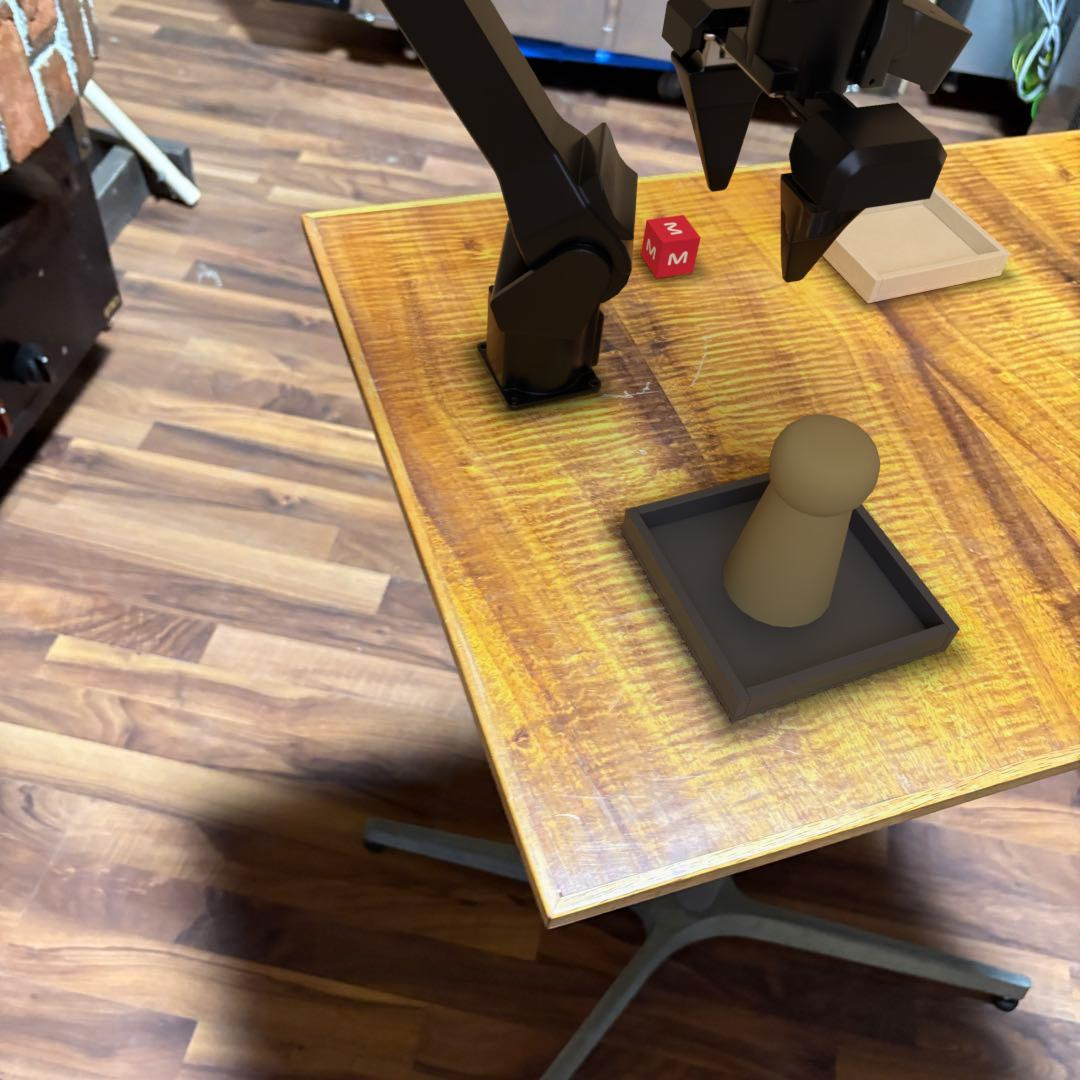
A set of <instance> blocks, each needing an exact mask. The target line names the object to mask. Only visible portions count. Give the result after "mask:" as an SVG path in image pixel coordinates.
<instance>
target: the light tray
mask: <svg viewBox="0 0 1080 1080" xmlns="http://www.w3.org/2000/svg"><path fill="white" fill-rule="evenodd" d="M1011 255H1012V253H1011V252H1010V251H1009V250H1008V249H1007V248H1006V247H1005V246H1004V245H1002V244H1001V243H1000V242H999V241H998V240H997V239H995V238H994V237H993V236H992V235H991V234H990V233H989V232H987V231H986V230H985V229H984V228H983V227H982V226H981V225H980V224H979V223H977V222H976V221H975V220H974V218H973V219H972V217H970V215H968V214H967V213H966V212H965V211H964V210H962V209H961V208H960V207H959V206H958V205H957V204H955V203H954V202H953V201H952V199H950V198H949V197H948V196H947V195H946V194H944V193H943V192H942V191H941V190H940V189H938V187H937V186H935V187H934V190H933V192H932V195H931V197H930V199H926V200H919V201H912V202H905V203H899V204H892V205H885V206H879V207H872V208H866V209H865V210H863V211H862V212H861V213H860V214H859V215H858V216H857V217H856V218H855V219H854V220H853V221H852V222H851V223H850V224H849V225H848V226H847V227H846V228H845V229H844V230H843V231H842V232H841V234H840V235H839V236H838V237H837V238H836V240H835V241H834V242H833V243H832V245H831V246H830V247H829V248H828V249H827V251H826V252H825V253H824V254H823V255H822V257H823V258H824V259H825V260H826V261H827V262H828V263H829V264H830V265H831V266H832V267H833V268H834V270H836V272H837V273H838V274H839V275H840V276H841V277H842V278H843V279H844V280H845V281H846V283H848V285H850V286H851V288H852V289H853V290H854V291H855V292H856V293H857V294H858V296H860V297H861V298H862V299H863V300H864V301H865V303H867V304H872V303H876V302H881V301H886V300H891V299H896V298H900V297H905V296H909V295H915V294H920V293H924V292H928V291H929V292H930V291H933V290H938V289H944V288H948V287H952V286H953V287H954V286H957V285H961V284H968V283H971V282H976V281H981V280H985V279H991V278H996V277H1000V276H1002V274H1003V271H1004V269H1005V267H1006V266H1007V263H1008V261H1009V259H1010V257H1011Z"/></svg>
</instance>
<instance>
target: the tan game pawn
mask: <svg viewBox="0 0 1080 1080" xmlns="http://www.w3.org/2000/svg"><path fill="white" fill-rule="evenodd" d="M881 463H882V462H881V459H880V453H879V450H878V447H877V445H876V443H875V442H874V440H873V439H872V436H871V435H870V434H869V433H868V432H867V431H865V430H864V428H862V427H861V426H860V425H858V424H856V423H855V422H853V421H851V420H848V419H846V418H844V417H840V416H836V415H834V414H826V413H825V414H823V413H816V414H815V413H814V414H808V415H804V416H802V417H800V418H797V419H795V420H793V421H791V422H790V423H788V424H786V426H785V427H784V428H783V429H782V430H781V431H780V432H779V433H778V435H776V437H775V439H774V441H773V444H772V447H771V450H770V453H769V456H768V472H769V474H770V480H771V481H770V483H769V485H768V487H767V488H766V490H765V492H764V494H763V496H762V497H761V499H760V501H759V503H758V504H757V506H756V508H755V510H754V512H753V513H752V515H751V517H750V519H749V520H748V522H747V524H746V526H745V528H744V529H743V531H742V533H741V535H740V537H739V538H738V540H737V542H736V544H735V545H734V547H733V549H732V551H731V553H730V554H729V556H728V558H727V560H726V563H725V566H724V569H723V583H724V587H725V589H726V591H727V593H728V595H729V597H730V599H731V600H732V601H733V602H734V603H735V604H736V605H737V606H738V607H739V609H740V610H741V611H743V612H744V613H746V614H748V615H749V616H751V617H752V618H754V619H755V620H757V621H760V622H763V623H766V624H769V625H772V626H780V627H796V626H801V625H806V624H809V623H811V622H812V621H814V620H816V619H818V618H819V617H821V616H822V614H823V613H824V612H825V611H826V609H827V608H828V607H829V603H830V599H831V595H832V591H833V587H834V583H835V579H836V575H837V571H838V567H839V563H840V559H841V555H842V550H843V546H844V542H845V538H846V534H847V530H848V526H849V522H850V518H851V514H852V510H854V509H856V508H858V507H859V506H860V505H861V504H862V505H863V503H864V502H865V501H866V500H867V499H868V498H869V496H870V495H872V493H873V492H874V490H875V488H876V486H877V484H878V480H879V476H880V472H881V471H880V470H881Z"/></svg>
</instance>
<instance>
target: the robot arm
mask: <svg viewBox="0 0 1080 1080" xmlns="http://www.w3.org/2000/svg"><path fill="white" fill-rule="evenodd" d="M380 1H381V4H383V6H384V8H385V9H386V11H387V12H388V13H389V15H390V17H391V18H392V20H393V21H394V23H395V24H396V26H397V27H398V29H399V30H400V32H401V33H402V35H403V36H404V38H405V39H406V41H407V42H408V44H409V45H410V47H411V49H412V50H413V51H414V53H415V54H416V56H417V57H418V59H419V61H420V63H422V65H423V66H424V68H425V69H426V71H427V72H428V74H429V75H430V77H431V79H432V80H433V81H434V83H435V85H436V86H437V88H438V89H439V91H440V92H441V94H442V95H443V97H444V98H445V100H446V101H447V103H448V104H449V105H450V107H451V109H452V110H453V112H454V114H455V115H456V116H457V118H458V119H459V121H460V122H461V124H462V125H463V127H464V128H465V130H466V131H467V133H468V135H469V136H470V138H471V139H472V140H473V142H474V143H475V145H476V146H477V148H478V149H479V151H480V153H481V154H482V155H483V157H484V159H485V160H486V161H487V163H488V165H489V166H490V167H491V169H492V171H493V172H494V175H495V176H496V178H497V181H498V184H499V187H500V191H501V195H502V198H503V203H504V205H505V209H506V214H507V217H508V220H507V223H506V224H505V225H506V226H505V231H504V236H503V239H502V244H501V250H500V254H499V259H498V264H497V269H496V274H495V277H494V282H493V284H490V285H489V286H488V290H487V293H488V294H487V321H486V341H481V342H479V343H478V344H477V345H476V353H477V355H478V358H479V359H480V361H481V363H482V365H483V367H484V369H485V370H486V372H487V374H488V376H489V378H490V380H491V382H492V384H493V385H494V387H495V389H496V391H497V392H498V394H499V396H500V398H501V400H502V402H503V404H504V406H505V407H506V408H507V409H508V410H509V411H511V412H512V411H513V412H516V411H517V412H518V411H521V410H526V409H530V408H535V407H539V406H543V405H544V406H545V405H548V404H552V403H557V402H562V401H567V400H573V399H576V398H580V397H584V396H590V395H593V394H598V393H600V392H601V389H602V381H601V380H600V378H599V377H598V375H597V373H596V372H595V370H594V369H593V367H596V366H598V364H599V361H600V353H601V346H602V339H603V332H604V326H605V318H606V316H605V313H604V312H603V311H602V309H601V304H605V303H607V302H608V301H610V300H612V299H613V298H615V297H617V296H618V295H619V294H620V293H621V292H622V291H623V289H624V288H625V287H626V285H627V284H628V282H629V279H630V277H631V274H632V271H633V259H634V258H633V257H634V242H635V230H636V229H635V228H636V214H637V197H638V196H637V195H638V183H639V182H638V180H639V179H638V178H639V174H638V172H637V171H635V170H634V169H632V168H631V167H630V166H629V165H628V164H626V163H627V162H625V160H624V159H623V158H622V156H621V155H620V153H619V151H618V149H617V146H616V143H615V140H614V137H613V134H612V132H611V130H610V127H609V126H608V124H607V122H600V123H599V124H598V125H597V126H595V127H594V128H593V129H591V130H590V131H588V132H587V133H586V134H585V133H584V132H582V131H581V130H579V129H578V128H576V127H575V126H574V125H572V124H571V123H569V122H568V121H566V120H565V119H564V117H563V116H561V115H560V113H559V112H558V110H557V109H556V107H555V106H554V104H553V103H552V101H551V99H550V98H549V96H548V94H547V93H546V90H545V89H544V87H543V86H542V84H541V82H540V81H539V79H538V77H537V75H536V74H535V72H534V71H533V69H532V67H531V65H530V64H529V62H528V60H527V59H526V57H525V55H524V54H523V52H522V50H521V49H520V47H519V45H518V43H517V42H516V40H515V38H514V37H513V35H512V33H511V31H510V30H509V28H508V27H507V25H506V22H504V20H503V17H502V16H501V15H500V13H499V11H498V9H497V8H496V6H495V4H494V3H493V1H492V0H380ZM973 35H974V33H973V32H972V31H971V30H970V29H968V28H967V27H966V26H965V25H963V24H962V23H961V22H959V21H958V20H957V19H955V18H954V17H953V16H951V15H950V14H949V13H947V12H946V11H945V10H943V9H942V8H941V7H939V6H938V5H936V4H935V3H934V2H932V1H930V0H668V1H667V2H666V6H665V12H664V18H663V24H662V30H661V38H662V39H663V40H664V42H666V43H667V45H669V46H670V47H671V49H672V50H671V52H670V62H671V63H672V65H673V66H674V68H675V71H676V74H677V77H678V81H679V84H680V88H681V91H682V95H683V99H684V102H685V105H686V108H687V112H688V116H689V119H690V123H691V126H692V130H693V134H694V138H695V142H696V146H697V149H698V154H699V157H700V158H699V159H700V162H701V166H702V170H703V174H704V178H705V181H706V185H707V188H708V190H709V191H710V192H712V193H716V192H722V191H725V190H727V188H728V187H729V184H730V181H731V179H732V176H733V174H734V172H735V169H736V167H737V164H738V160H739V158H740V154H741V151H742V148H743V145H744V141H745V139H746V135H747V132H748V130H749V129H748V128H749V125H750V123H751V119H752V116H753V112H754V110H755V107H756V103H757V101H758V98H759V97H760V95H761V94H762V93H763V92H764V93H765V94H766V95H767V96H768V97H769V98H772V99H777V98H778V99H779V100H780V101H781V102H782V103H784V105H785V106H786V107H787V108H788V109H789V110H790V111H791V112H792V113H793V114H794V115H795V116H796V117H797V118H798V119H799V120H800V121H801V122H802V123H803V124H802V125H801V126H800V127H799V128H798V129H797V130H795V132H794V134H793V137H792V140H791V145H790V147H789V151H788V159H789V166H790V172H785V173H781V174H780V178H779V179H780V180H779V181H780V182H779V183H780V187H779V188H780V191H779V193H780V195H779V196H780V198H779V199H780V203H779V205H780V265H781V277H782V280H783V281H784V282H785V283H787V284H789V283H795V282H800V281H802V280H803V279H805V277H806V276H807V275H808V274H809V272H810V271H811V270H812V269H813V268H814V267H815V265H816V264H817V263H818V262H819V261H820V259H821V258H822V257H823V256H822V255H823V254H824V253H825V252H826V251H827V249H828V248H829V247H830V246H831V245H832V243H833V242H834V241H835V240H836V238H837V237H838V236H839V235H840V234H841V232H842V231H843V230H844V229H845V228H846V227H847V226H848V225H849V224H850V223H851V222H852V221H853V220H854V219H855V218H856V217H857V216H858V215H859V214H860V213H861V212H862V211H863V210H865V209H866V208H872V207H879V206H885V205H892V204H899V203H905V202H912V201H919V200H926V199H930V197H931V195H932V192H933V190H934V187H936V185H937V182H938V179H939V177H940V175H941V172H942V170H943V167H944V165H945V162H946V160H947V158H948V153H947V151H946V150H945V147H944V146H943V144H942V143H941V142H942V141H941V140H940V139H939V137H938V136H937V135H935V133H933V132H932V131H931V130H929V128H928V127H926V126H925V125H924V124H923V123H922V122H921V121H919V120H918V119H917V118H916V117H915V116H914V115H913V114H912V113H911V112H909V110H907V109H906V108H905V107H903V105H902V104H901V103H899V102H891V103H882V104H874V105H866V106H865V105H864V106H857V105H855V104H854V103H853V102H852V101H851V100H850V99H849V98H848V97H847V96H846V95H845V93H846V92H847V91H848V90H847V89H848V87H849V86H855V85H856V86H858V87H859V88H860V89H862V90H863V89H872V88H881V87H883V85H884V82H885V80H886V75H887V74H889V75H891V76H894V77H896V78H899V79H902V80H904V81H907V82H909V83H913V84H915V85H917V86H919V90H921V91H922V92H924V93H927V94H928V95H929V94H930V95H932V94H935V93H936V91H938V88H939V87H940V85H941V84H942V82H943V81H944V79H945V78H946V76H947V74H948V73H949V72H950V70H951V68H952V67H953V66H954V64H955V62H956V61H957V60H958V58H959V57H960V55H961V53H962V52H963V50H964V49H965V47H966V46H967V44H968V43H969V41H970V40H971V38H972V37H973Z"/></svg>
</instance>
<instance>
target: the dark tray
mask: <svg viewBox="0 0 1080 1080" xmlns="http://www.w3.org/2000/svg"><path fill="white" fill-rule="evenodd" d="M770 481H771V480H770V474H769V471H768V472H765V473H759V474H757V475H752V476H750V477H745V478H741V479H737V480H733V481H729V482H726V483H722V484H717V485H714V486H710V487H706V488H703V489H700V490H695V491H690V492H687V493H683V494H679V495H676V496H675V495H674V496H671V497H669V498H664V499H660V500H656V501H651V502H649V503H645V504H641V505H636V506H631V507H629V508H625V512H624V516H623V521H622V527H621V534H622V535H623V537H624V539H625V541H626V542H627V544H628V546H629V548H630V549H631V551H632V553H633V555H634V557H635V558H636V560H637V562H638V563H639V565H640V567H641V569H642V571H643V572H644V574H645V576H646V577H647V579H648V580H649V582H650V585H651V586H652V588H653V589H654V591H655V592H656V594H657V596H658V598H659V600H660V601H661V603H662V605H663V607H664V608H665V610H666V611H667V613H668V615H669V617H670V619H671V621H672V622H673V624H674V625H675V627H676V629H677V630H678V632H679V634H680V636H681V638H682V639H683V641H684V643H685V644H686V647H687V648H688V649H689V651H690V653H691V655H692V656H693V658H694V660H695V661H696V663H697V665H698V667H699V669H700V670H701V673H702V674H703V675H704V677H705V679H706V681H707V683H708V684H709V686H710V688H711V689H712V691H713V693H714V695H715V696H716V698H717V700H718V701H719V703H720V705H721V707H722V708H723V710H724V712H725V714H726V715H727V717H728V719H729V720H730V722H731V723H734V722H736V721H737V722H738V721H739V720H743V719H745V718H749V717H751V716H754V715H757V714H760V713H763V712H766V711H769V710H772V709H775V708H778V707H781V706H784V705H787V704H790V703H792V702H796V701H800V700H802V699H805V698H808V697H811V696H814V695H816V694H820V693H823V692H826V691H828V690H832V689H835V688H837V687H841V686H844V685H847V684H849V683H853V682H855V681H859V680H862V679H864V678H868V677H870V676H873V675H876V674H879V673H882V672H885V671H888V670H891V669H894V668H898V667H900V666H903V665H905V664H909V663H912V662H915V661H918V660H921V659H924V658H926V657H927V658H928V657H929V656H932V655H935V654H938V653H941V652H944V651H947V649H948V648H949V646H950V645H951V643H952V642H953V640H954V639H955V637H956V636H957V635H958V633H959V632H960V629H961V628H960V627H959V626H958V624H957V623H956V622H955V621H954V618H952V616H950V614H949V613H948V612H947V610H946V609H945V608H944V606H943V605H942V604H941V603H940V601H939V600H938V599H937V598H936V596H935V595H934V594H933V593H932V591H931V590H930V589H929V588H928V586H927V585H926V583H925V582H924V581H923V579H921V577H920V576H919V575H918V574H917V572H916V571H915V569H914V568H913V567H912V566H911V564H910V563H909V562H908V561H907V559H906V558H905V556H903V554H902V553H901V552H900V551H899V549H898V548H897V547H896V545H895V544H894V543H893V542H892V540H891V539H890V538H889V536H888V535H887V534H886V533H885V532H884V530H883V529H882V528H881V526H880V525H879V524H878V522H877V521H876V520H875V519H874V518H873V516H872V515H871V513H870V512H869V511H868V510H867V509H866V507H865V506H864V504H863V503H862V504H861V505H860V506H859V507H858V508H856V509H854V510H852V514H851V518H850V522H849V526H848V530H847V534H846V538H845V542H844V546H843V550H842V555H841V559H840V563H839V567H838V571H837V575H836V579H835V583H834V587H833V591H832V595H831V599H830V603H829V607H828V608H827V609H826V611H825V612H824V613H823V614H822V616H821V617H819V618H818V619H816V620H814V621H812V622H811V623H809V624H806V625H801V626H796V627H780V626H772V625H769V624H766V623H763V622H760V621H757V620H755V619H754V618H752V617H751V616H749V615H748V614H746V613H744V612H743V611H741V610H740V609H739V607H738V606H737V605H736V604H735V603H734V602H733V601H732V600H731V599H730V597H729V595H728V593H727V591H726V589H725V587H724V583H723V569H724V566H725V563H726V560H727V558H728V556H729V554H730V553H731V551H732V549H733V547H734V545H735V544H736V542H737V540H738V538H739V537H740V535H741V533H742V531H743V529H744V528H745V526H746V524H747V522H748V520H749V519H750V517H751V515H752V513H753V512H754V510H755V508H756V506H757V504H758V503H759V501H760V499H761V497H762V496H763V494H764V492H765V490H766V488H767V487H768V485H769V483H770Z"/></svg>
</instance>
